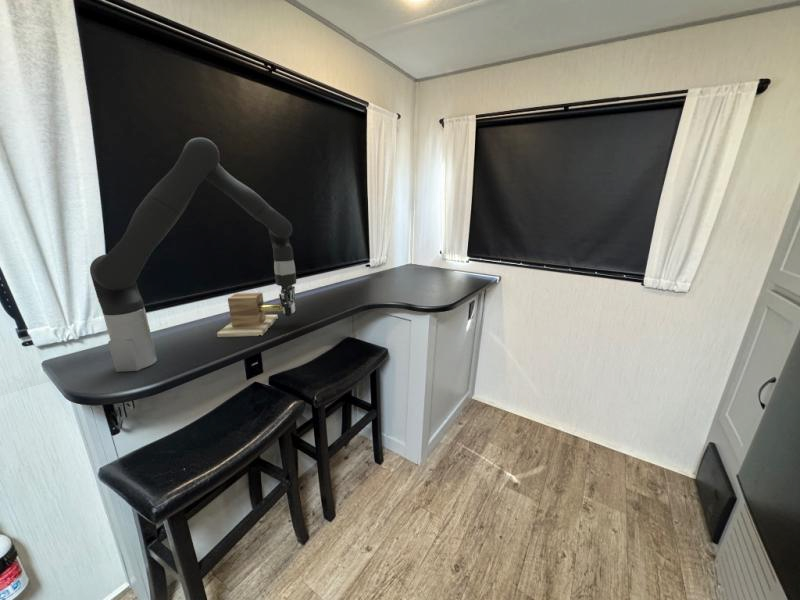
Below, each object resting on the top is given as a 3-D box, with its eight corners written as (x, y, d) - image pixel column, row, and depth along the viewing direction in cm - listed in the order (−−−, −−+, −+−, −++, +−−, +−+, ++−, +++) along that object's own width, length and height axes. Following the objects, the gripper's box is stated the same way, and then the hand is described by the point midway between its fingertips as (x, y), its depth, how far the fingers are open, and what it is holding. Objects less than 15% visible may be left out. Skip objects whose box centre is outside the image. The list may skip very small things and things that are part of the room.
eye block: (262, 335, 118) (257, 301, 114) (217, 337, 117) (211, 303, 113) (277, 317, 137) (274, 288, 133) (239, 319, 136) (235, 289, 132)
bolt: (293, 313, 125) (292, 304, 124) (233, 315, 123) (232, 306, 122) (295, 310, 128) (294, 301, 127) (237, 312, 127) (236, 303, 126)
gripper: (280, 268, 128) (284, 309, 133) (269, 275, 115) (274, 320, 120) (299, 268, 129) (303, 308, 134) (290, 275, 115) (295, 320, 120)
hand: (289, 314), depth 127 cm, fingers closed on bolt, 3 cm apart
